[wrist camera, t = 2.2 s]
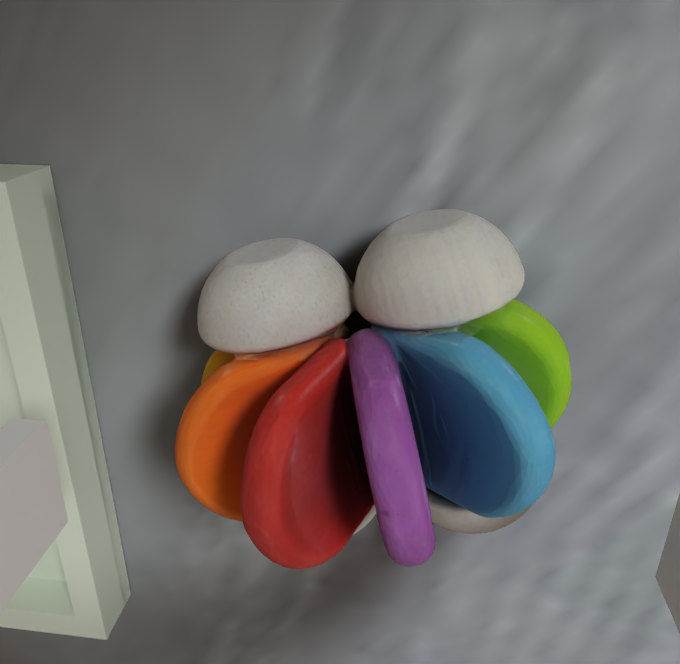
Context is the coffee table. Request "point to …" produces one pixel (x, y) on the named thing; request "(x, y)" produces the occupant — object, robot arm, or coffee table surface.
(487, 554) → the coffee table surface
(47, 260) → the tray
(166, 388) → the coffee table surface
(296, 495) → the rainbow lobed toy
